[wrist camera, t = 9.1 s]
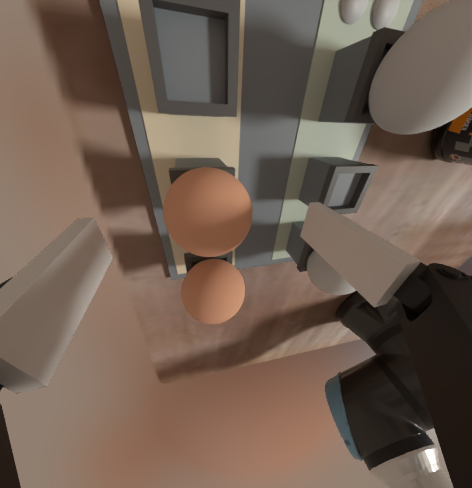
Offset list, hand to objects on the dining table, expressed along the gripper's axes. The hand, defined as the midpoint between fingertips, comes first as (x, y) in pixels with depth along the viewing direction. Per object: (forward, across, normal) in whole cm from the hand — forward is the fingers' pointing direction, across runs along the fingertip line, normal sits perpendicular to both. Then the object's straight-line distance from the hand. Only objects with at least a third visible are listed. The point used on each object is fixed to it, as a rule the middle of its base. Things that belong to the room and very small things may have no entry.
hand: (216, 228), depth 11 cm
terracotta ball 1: (+4, 0, 0) cm, 4 cm away
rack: (+9, -7, -2) cm, 12 cm away
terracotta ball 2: (+5, 0, +8) cm, 9 cm away
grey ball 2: (+4, -14, -8) cm, 17 cm away
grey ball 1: (+5, -14, +8) cm, 16 cm away
